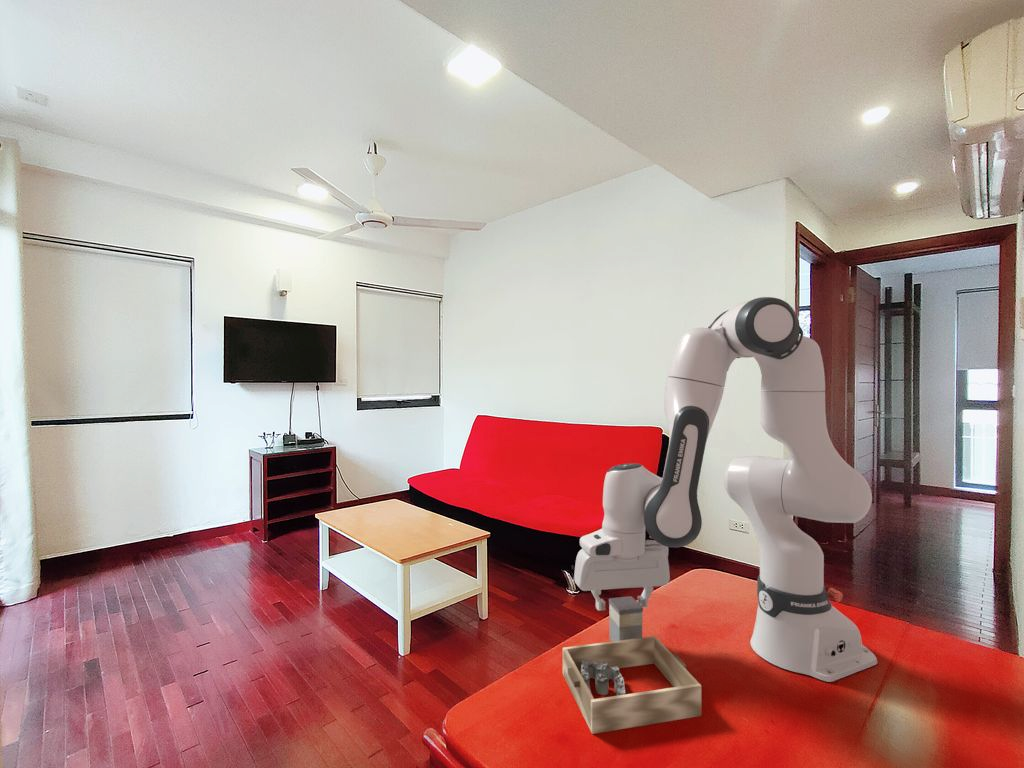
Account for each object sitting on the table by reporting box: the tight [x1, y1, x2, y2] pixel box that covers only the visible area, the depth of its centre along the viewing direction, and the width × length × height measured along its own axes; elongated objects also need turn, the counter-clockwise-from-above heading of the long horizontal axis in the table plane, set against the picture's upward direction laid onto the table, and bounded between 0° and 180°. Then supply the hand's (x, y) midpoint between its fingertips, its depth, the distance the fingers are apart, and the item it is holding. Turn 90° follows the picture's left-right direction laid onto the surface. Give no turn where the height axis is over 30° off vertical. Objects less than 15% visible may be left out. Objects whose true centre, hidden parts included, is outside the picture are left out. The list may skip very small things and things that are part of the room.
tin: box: [608, 596, 644, 642], centre depth 97 cm, size 5×5×8 cm
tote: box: [562, 635, 702, 735], centre depth 82 cm, size 21×15×5 cm
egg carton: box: [581, 660, 626, 696], centre depth 81 cm, size 11×8×4 cm
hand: (621, 607), depth 97 cm, fingers open, 8 cm apart
